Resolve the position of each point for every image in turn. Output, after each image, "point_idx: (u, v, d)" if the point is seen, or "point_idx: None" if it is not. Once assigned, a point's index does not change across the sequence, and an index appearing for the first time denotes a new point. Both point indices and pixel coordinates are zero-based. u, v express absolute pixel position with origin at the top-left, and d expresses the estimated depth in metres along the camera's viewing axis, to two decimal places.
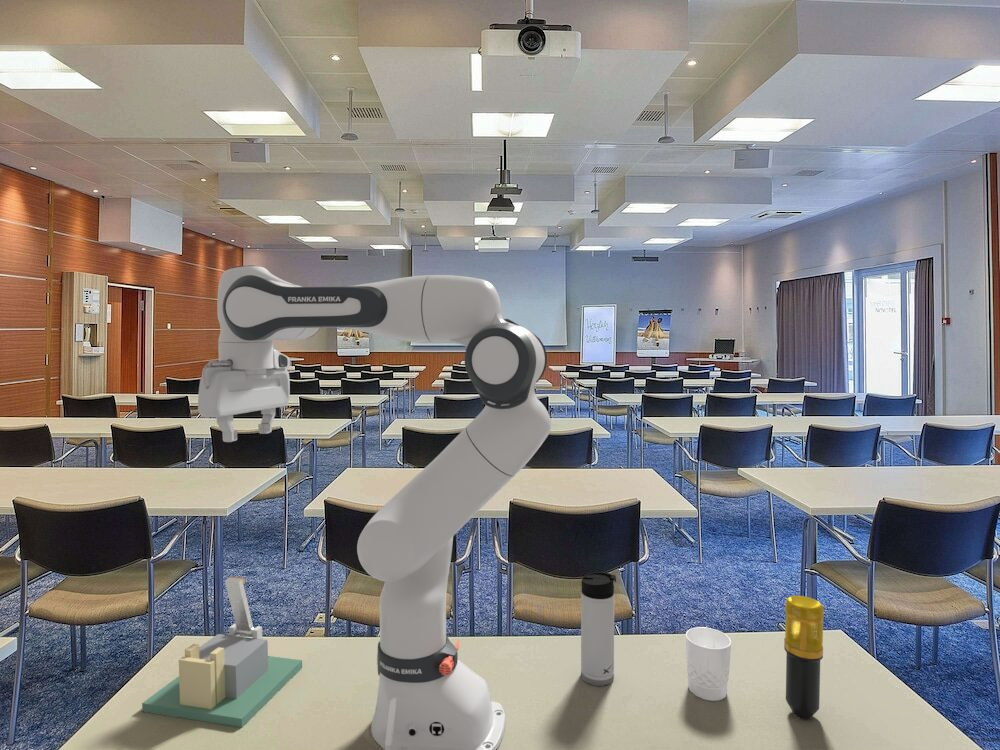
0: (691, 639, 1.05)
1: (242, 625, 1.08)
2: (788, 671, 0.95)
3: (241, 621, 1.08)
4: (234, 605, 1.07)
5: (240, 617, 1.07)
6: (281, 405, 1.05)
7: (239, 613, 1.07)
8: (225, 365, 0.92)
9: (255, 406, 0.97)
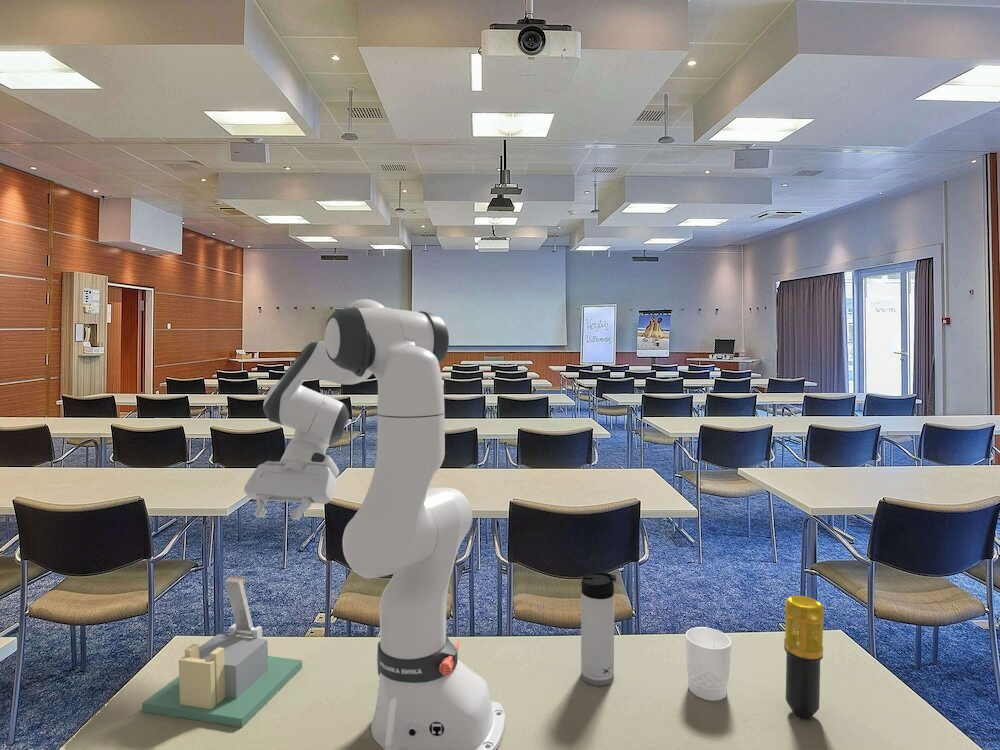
0: (691, 639, 1.05)
1: (242, 625, 1.08)
2: (788, 671, 0.95)
3: (241, 621, 1.08)
4: (234, 605, 1.07)
5: (240, 617, 1.07)
6: (313, 494, 1.19)
7: (239, 613, 1.07)
8: (276, 464, 1.28)
9: (281, 490, 1.21)
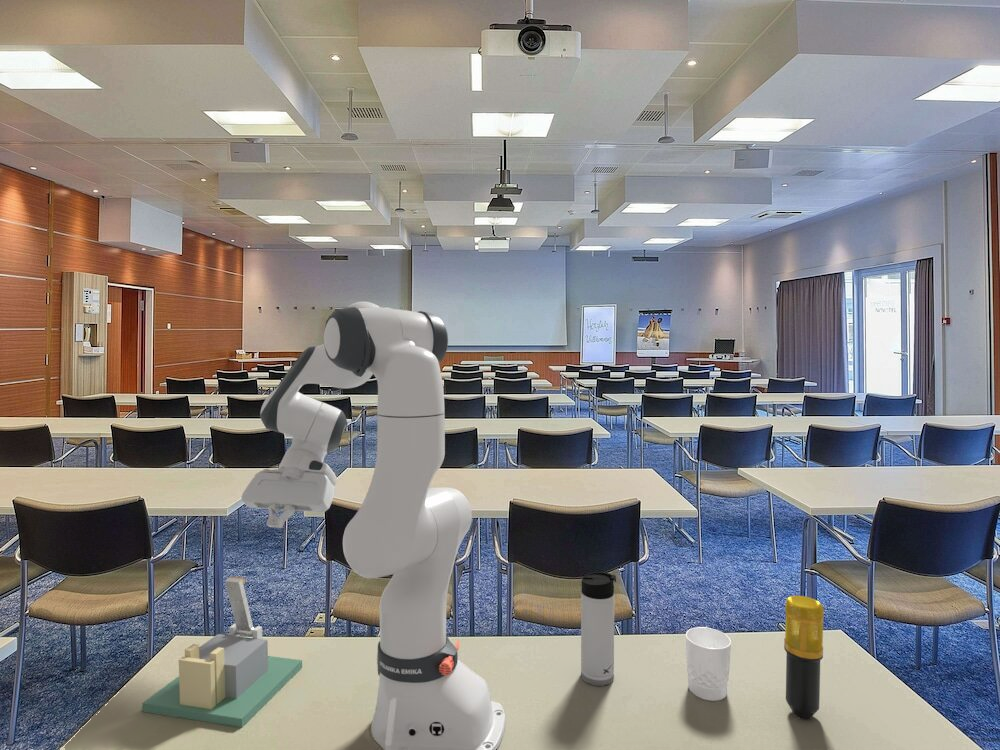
0: (691, 639, 1.05)
1: (242, 625, 1.08)
2: (788, 671, 0.95)
3: (241, 621, 1.08)
4: (234, 605, 1.07)
5: (240, 617, 1.07)
6: (310, 503, 1.18)
7: (239, 613, 1.07)
8: (273, 472, 1.27)
9: (279, 498, 1.20)
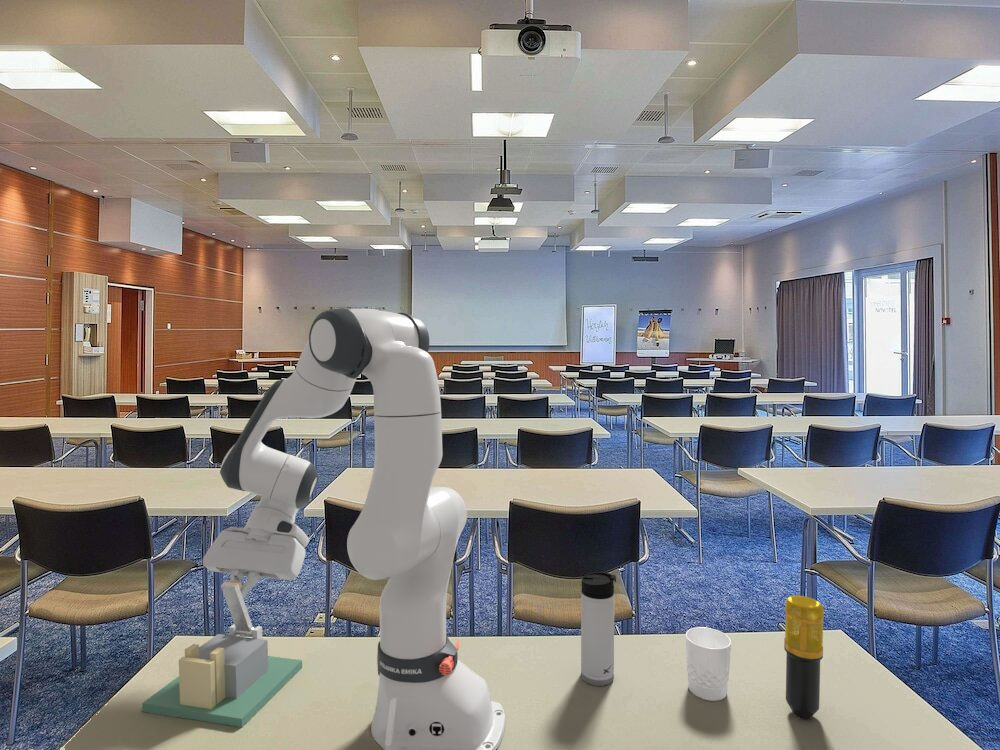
0: (691, 639, 1.05)
1: (241, 626, 1.08)
2: (788, 671, 0.95)
3: (240, 622, 1.07)
4: (232, 608, 1.06)
5: (239, 619, 1.07)
6: (277, 571, 1.07)
7: (237, 615, 1.07)
8: (239, 530, 1.16)
9: (243, 564, 1.09)
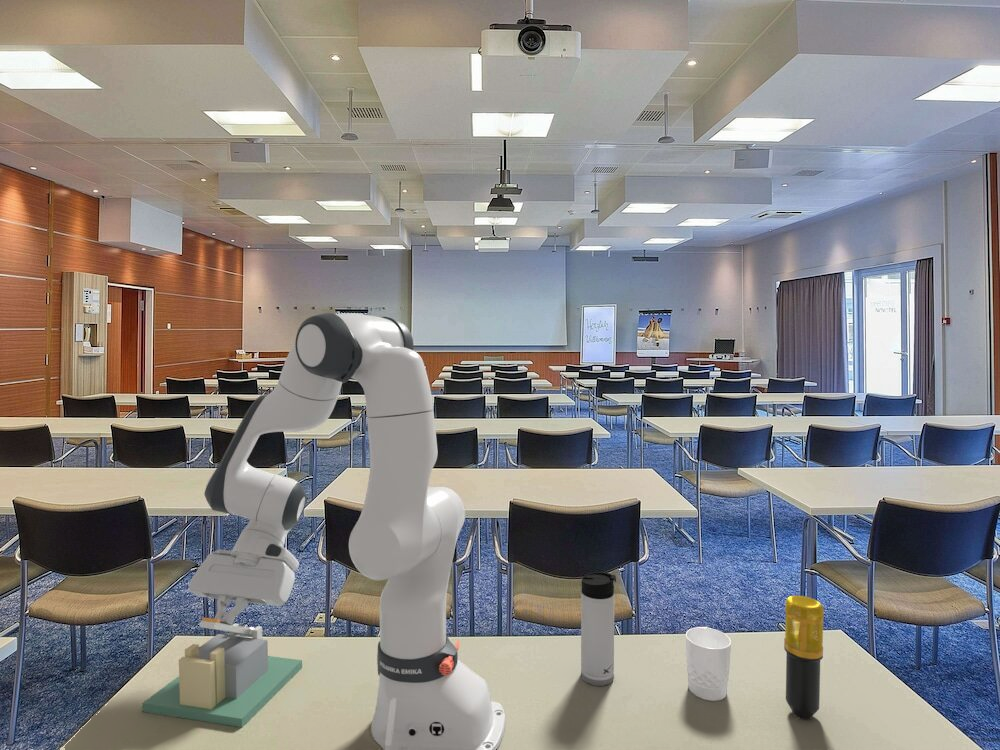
0: (691, 639, 1.05)
1: (239, 633, 1.07)
2: (788, 671, 0.95)
3: None
4: (221, 630, 1.03)
5: (233, 632, 1.06)
6: (265, 597, 1.04)
7: None
8: (227, 554, 1.13)
9: (230, 589, 1.06)
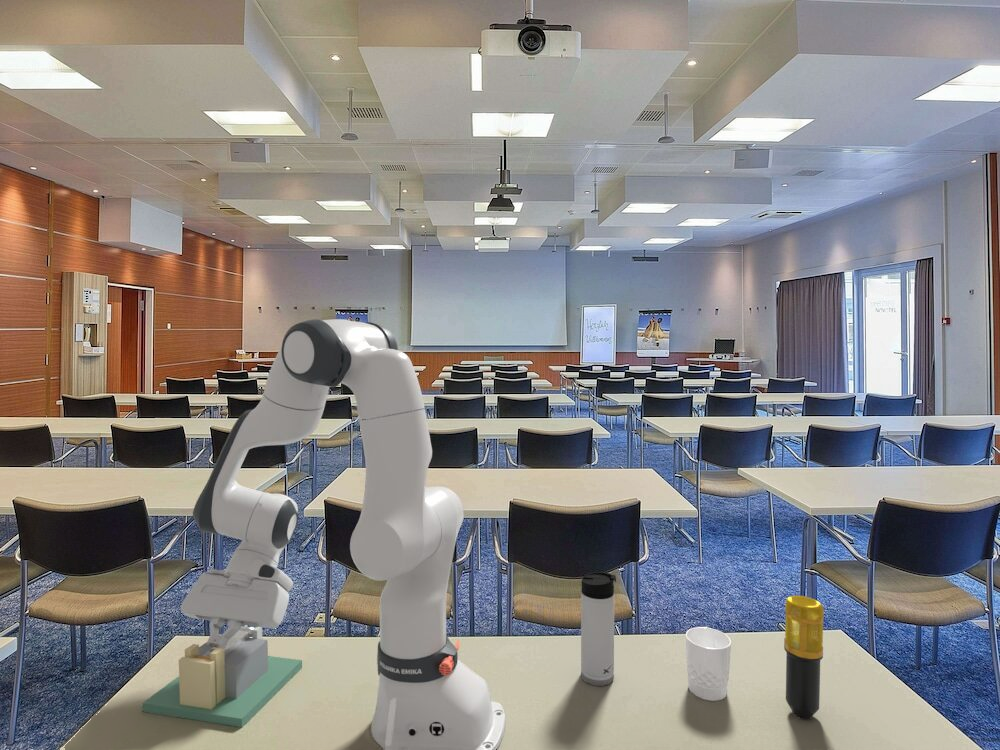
0: (691, 639, 1.05)
1: None
2: (788, 671, 0.95)
3: None
4: None
5: None
6: (258, 620, 1.02)
7: None
8: (220, 574, 1.11)
9: (223, 612, 1.04)
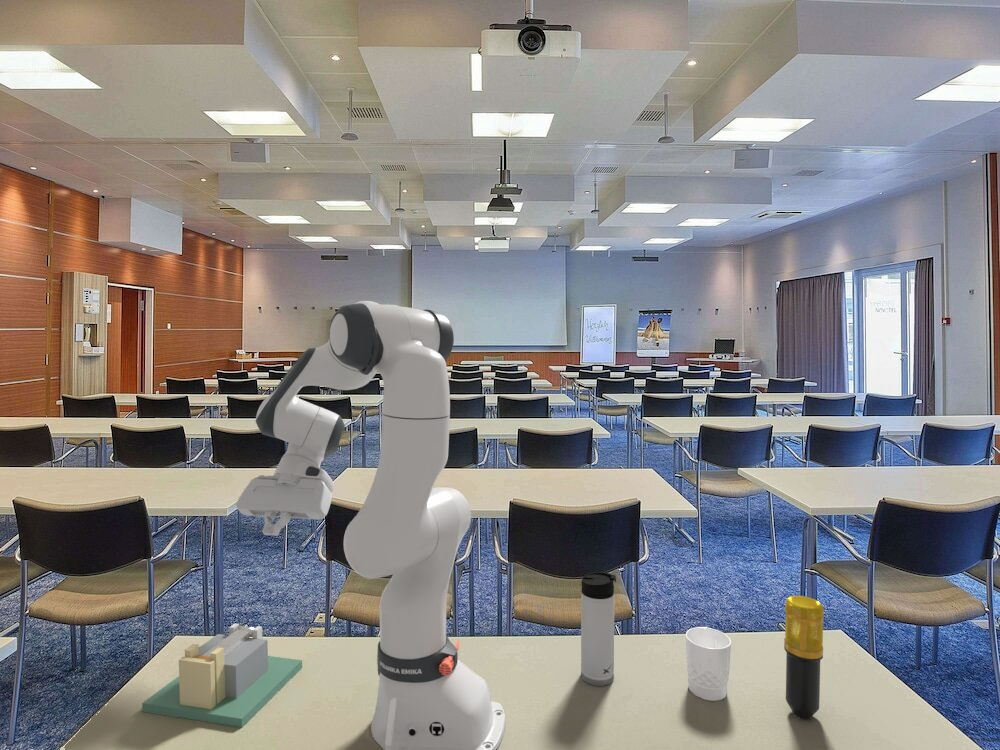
0: (691, 639, 1.05)
1: None
2: (788, 671, 0.95)
3: None
4: None
5: None
6: (307, 510, 1.15)
7: None
8: (269, 478, 1.24)
9: (275, 505, 1.17)
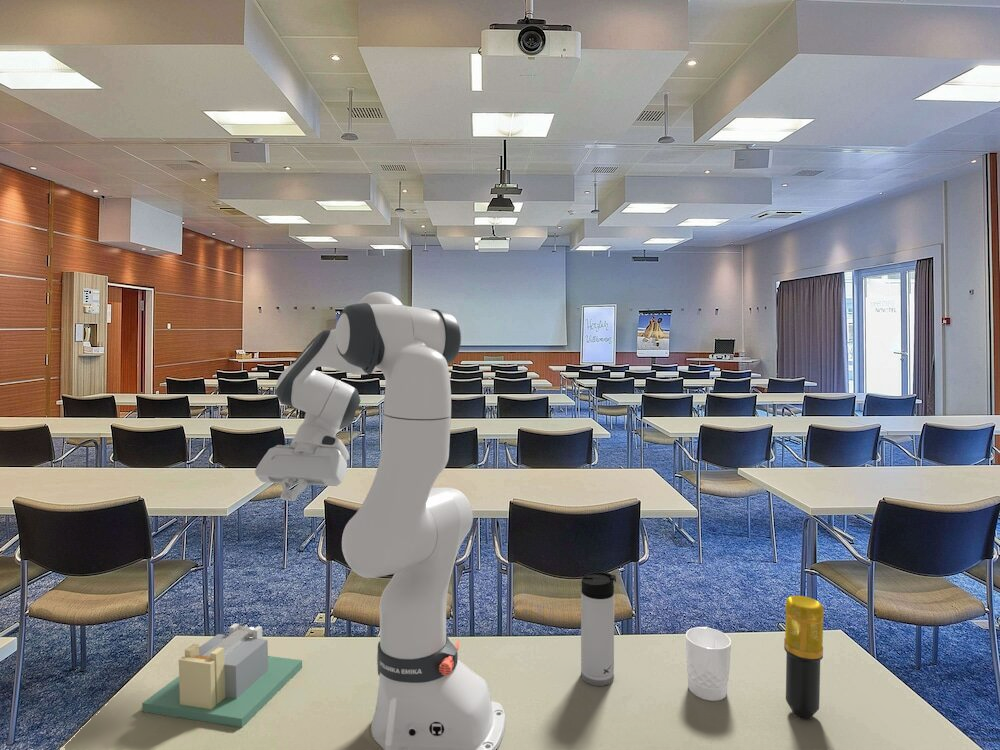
0: (691, 639, 1.05)
1: None
2: (788, 671, 0.95)
3: None
4: None
5: None
6: (324, 476, 1.20)
7: None
8: (286, 447, 1.29)
9: (292, 472, 1.22)
